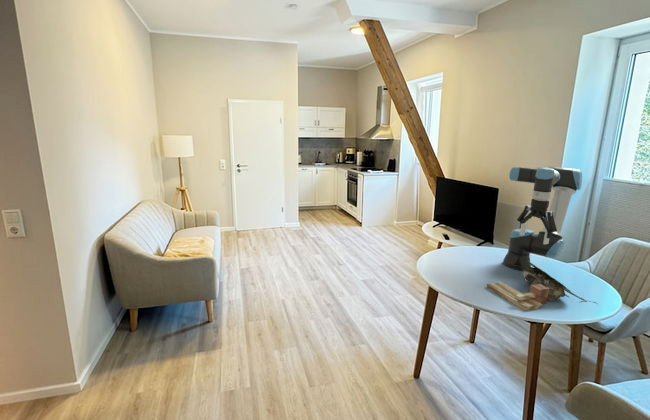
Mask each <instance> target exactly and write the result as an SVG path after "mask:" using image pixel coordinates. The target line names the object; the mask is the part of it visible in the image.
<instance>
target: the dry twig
mask: <svg viewBox="0 0 650 420" xmlns="http://www.w3.org/2000/svg"><path fill="white" fill-rule="evenodd" d="M566 288H567V287H566ZM566 288H564V287H563V289H564V291H565V292H567V293H569V294H570V295H572V296H574V297H576V298H577V299H580V300H581V301H580V303H588V302H591V303H592V301H589V300H586V299H584V298H582V297H580V296H578V295H577V294H575V293H574V292H572V291H570V292H569V291H568V290H569V289H568V288H567V289H568V290H567V289H566ZM567 293H565V296H564V297H567V298H570V296H569V295H567ZM593 303H594V304H597V302H595V301H593Z"/></svg>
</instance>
